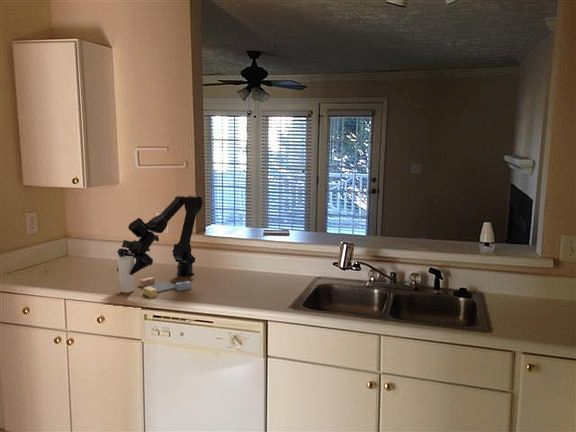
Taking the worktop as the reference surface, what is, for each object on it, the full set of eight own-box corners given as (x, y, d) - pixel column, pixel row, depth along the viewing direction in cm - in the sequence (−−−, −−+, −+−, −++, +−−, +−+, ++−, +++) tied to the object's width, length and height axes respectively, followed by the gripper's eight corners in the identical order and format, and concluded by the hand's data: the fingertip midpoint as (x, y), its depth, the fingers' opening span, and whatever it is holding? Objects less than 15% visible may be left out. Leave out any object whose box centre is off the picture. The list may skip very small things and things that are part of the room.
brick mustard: (143, 294, 206) (143, 287, 206) (150, 293, 208) (149, 286, 208) (150, 297, 202) (150, 291, 201) (157, 296, 204) (156, 289, 203)
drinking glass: (130, 294, 205) (129, 260, 203) (116, 293, 207) (114, 259, 204) (138, 289, 212) (137, 256, 209) (124, 288, 213) (123, 255, 211)
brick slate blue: (188, 287, 217) (188, 280, 216) (191, 289, 214) (190, 282, 214) (175, 289, 213) (175, 283, 213) (178, 291, 211) (178, 284, 210)
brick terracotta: (151, 283, 222) (151, 276, 222) (154, 284, 220) (154, 278, 220) (139, 286, 218) (139, 279, 217) (143, 287, 216) (142, 281, 215)
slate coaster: (166, 282, 223) (166, 281, 223) (179, 287, 215) (179, 286, 215) (144, 287, 215) (144, 285, 215) (157, 292, 208) (157, 291, 208)
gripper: (119, 230, 214) (98, 259, 207) (146, 235, 203) (125, 266, 196) (135, 244, 221) (115, 272, 214) (161, 250, 211) (141, 280, 203)
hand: (123, 272), depth 207 cm, fingers open, 9 cm apart
